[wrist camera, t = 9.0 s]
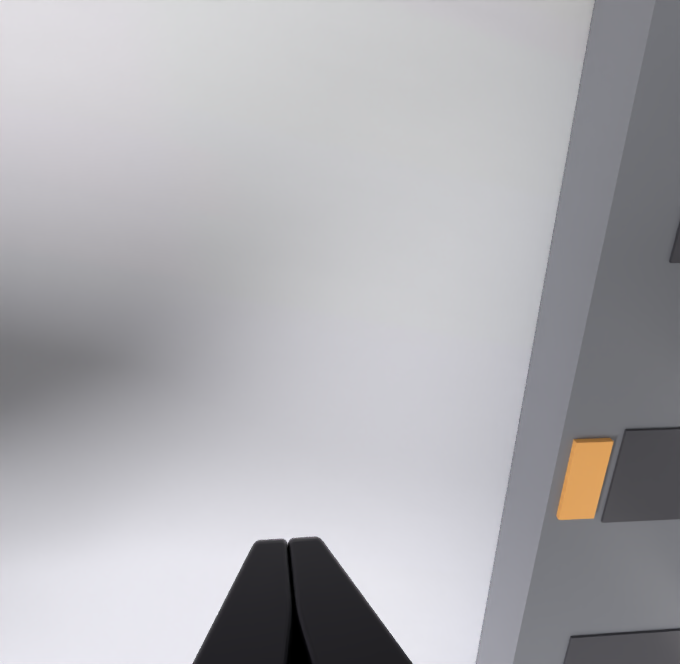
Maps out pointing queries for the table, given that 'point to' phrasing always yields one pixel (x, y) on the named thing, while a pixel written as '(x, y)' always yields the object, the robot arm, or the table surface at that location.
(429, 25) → the table surface
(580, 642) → the three-peg stand
